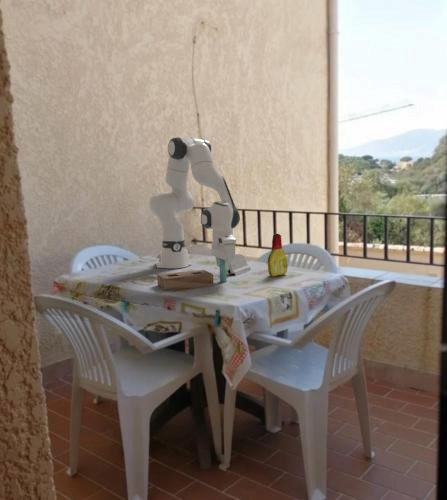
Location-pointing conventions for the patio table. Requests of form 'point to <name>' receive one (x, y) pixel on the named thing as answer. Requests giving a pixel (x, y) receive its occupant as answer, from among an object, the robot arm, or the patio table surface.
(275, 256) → the bottle
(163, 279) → the hole block
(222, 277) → the peg
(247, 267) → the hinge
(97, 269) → the patio table surface
